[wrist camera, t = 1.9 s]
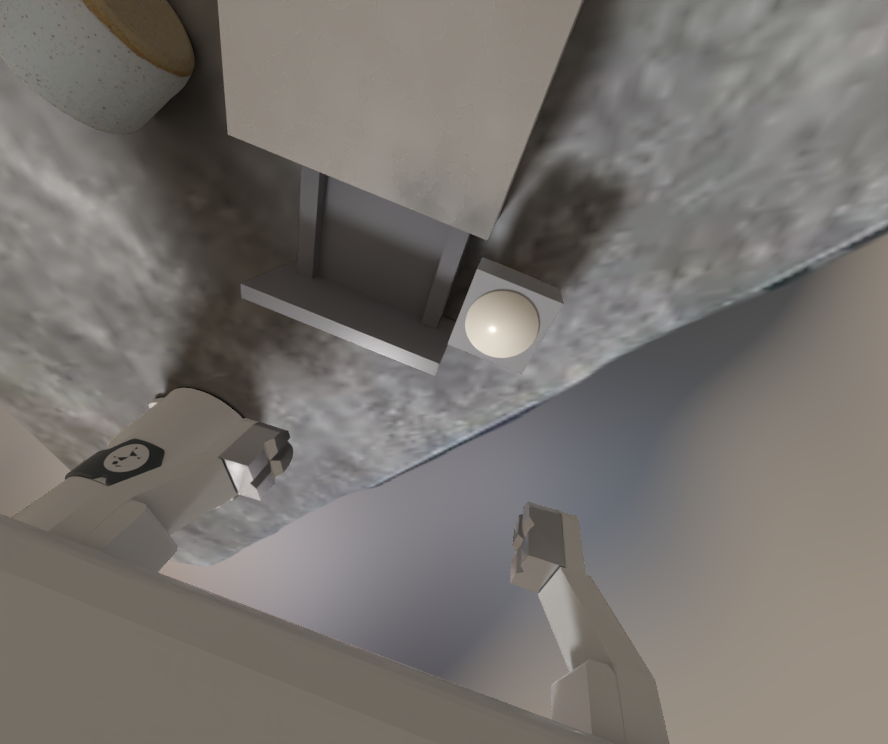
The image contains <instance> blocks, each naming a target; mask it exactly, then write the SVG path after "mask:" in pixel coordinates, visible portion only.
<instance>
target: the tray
mask: <svg viewBox="0 0 888 744" xmlns="http://www.w3.org/2000/svg"><path fill="white" fill-rule="evenodd" d="M470 236H471V234H470V233H468V232H465V231H463V230H460V229H458V228H455V227H453V226H450V225H448V224H446V223H443V222H441V221H438V220H436V219H433V218H431V217H428V216H426V215H423V214H421V213H419V212H416V211H414V210H411V209H409V208H406V207H404V206H401V205H399V204H397V203H394V202H392V201H389V200H387V199H384V198H382V197H379V196H377V195H375V194H372V193H370V192H367V191H365V190H362V189H360V188H357V187H355V186H352V185H350V184H348V183H345V182H343V181H340V180H338V179H335V178H333V177H330V176H328V175H326V174H323V173H321V172H318V171H316V170H313V169H311V168H308V167H306V166H304V165H301V185H300V210H299V235H298V259H296V260H294V261H292V262H289V263H287V264H285V265H282V266H280V267H278V268H275V269H273V270H271V271H268V272H266V273H264V274H261V275H259V276H256V277H254V278H252V279H249V280H247V281H245V282H242V283H240V287H241V298H243V299H246V300H248V301H251V302H253V303H255V304H258V305H260V306H263V307H265V308H268V309H270V310H273V311H275V312H278V313H280V314H283V315H285V316H288V317H290V318H293V319H295V320H298V321H300V322H303V323H305V324H308V325H310V326H313V327H315V328H318V329H320V330H322V331H325V332H327V333H330V334H332V335H335V336H337V337H340V338H342V339H345V340H347V341H350V342H352V343H355V344H357V345H360V346H362V347H365V348H367V349H370V350H372V351H375V352H377V353H380V354H382V355H384V356H387V357H389V358H392V359H394V360H397V361H399V362H402V363H404V364H407V365H409V366H412V367H414V368H417V369H419V370H422V371H424V372H427V373H429V374H432V375H434V376H435V374H436V372H437V369H438V367H439V365H440V362H441V360H442V357H443V355H444V353H445V350H446V348H447V346H448V341H449V339H450V336H451V334H452V331H453V329H454V326H455V324H456V321H454V320H451V319H449V318H446V317H444V316H442V314H443V311H444V308H445V306H446V303H447V300H448V297H449V294H450V292H451V289H452V286H453V283H454V280H455V278H456V275H457V272H458V269H459V266H460V264H461V261H462V258H463V255H464V252H465V250H466V247H467V244H468V241H469V238H470Z"/></svg>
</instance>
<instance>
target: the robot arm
mask: <svg viewBox="0 0 888 744" xmlns="http://www.w3.org/2000/svg"><path fill="white" fill-rule="evenodd" d="M149 408H150V409H149V410H148V411H146V412H145V413H144V414H142V415H141V416H140V417H139V418H137V419H136V420H135V421H134V422H132V423H131V424H130V425H129V426H127V427H126V428H125V429H124V430H122V431H121V432H120V433H119V434H117V435H116V436H115V437H114V438H112V439H111V440H110V441H109V443H108V447H107V450H101V451H99V452H97V453H96V454H94V455H93V456H91V457H90V458H88V459H87V460H84V461H82V462H81V463H80V464H78V465H77V466H76V468H74V469H73V470H72V471H70V472H69V473H68V474H67V475H66V476H65V481H63V482H62V483H60V484H59V485H57V486H56V487H55V488H53V489H51V490H50V491H48V492H47V493H46V494H44V495H43V496H41V497H40V498H38V499H37V500H35V501H34V502H33V503H31V504H30V505H28V506H27V507H25V508H24V509H22V510H21V511H19V512H18V513H17V514H15V515H14V516H12V517H11V518H10V517H8V516H5V515H2V514H0V744H669V740H668V735H667V731H666V726H665V722H664V718H663V713H662V709H661V704H660V700H659V695H658V691H657V687H656V682H655V679H654V677H653V676H652V674H651V672H650V671H649V669H648V668H647V666H646V664H645V663H644V661H643V659H642V658H641V656H640V655H639V653H638V651H637V650H636V648H635V647H634V645H633V643H632V642H631V640H630V639H629V637H628V635H627V634H626V632H625V631H624V629H623V627H622V626H621V624H620V623H619V621H618V619H617V618H616V616H615V614H614V613H613V611H612V610H611V608H610V606H609V605H608V603H607V602H606V600H605V598H604V597H603V595H602V594H601V592H600V590H599V589H598V587H597V586H596V584H595V582H594V581H593V579H592V578H591V576H589V575H586V573H585V565H584V557H583V549H582V541H581V533H580V525H579V520H578V518H577V516H575V515H571V514H568V513H564V512H561V511H559V510H555V509H552V508H548V507H545V506H541V505H538V504H534V503H531V502H526V503H525V505H524V507H523V514H521V515H519V517H518V519H517V521H516V524H515V528H514V534H513V547H514V549H515V551H516V553H515V555H514V556H513V558H512V561H511V579H510V580H511V582H510V583H512V584H515V585H518V586H521V587H523V588H526V589H529V590H532V591H534V592H537V593H539V594H538V596H539V598H540V601H541V603H542V606H543V608H544V610H545V613H546V616H547V618H548V620H549V623H550V625H551V627H552V630H553V633H554V635H555V637H556V640H557V642H558V645H559V647H560V649H561V652H562V655H563V657H564V659H565V662H566V664H567V667H568V669H569V673H568V674H566V675H565V676H563V677H562V678H560V679H559V680H557V681H556V682H554V683H553V684H552V685H551V708H552V709H551V710H552V711H551V712H552V720H551V719H549V718H546V717H543V716H540V715H538V714H535V713H532V712H530V711H527V710H524V709H521V708H519V707H516V706H514V705H511V704H508V703H506V702H503V701H500V700H498V699H495V698H492V697H489V696H487V695H484V694H482V693H479V692H476V691H473V690H471V689H468V688H466V687H463V686H460V685H458V684H455V683H452V682H450V681H446V680H444V679H441V678H439V677H436V676H433V675H431V674H428V673H425V672H422V671H420V670H417V669H415V668H412V667H409V666H407V665H404V664H401V663H399V662H396V661H393V660H391V659H388V658H385V657H382V656H380V655H377V654H375V653H372V652H369V651H367V650H364V649H361V648H359V647H356V646H353V645H350V644H348V643H345V642H342V641H340V640H337V639H334V638H332V637H329V636H326V635H324V634H321V633H318V632H315V631H313V630H310V629H308V628H305V627H302V626H300V625H297V624H294V623H291V622H288V621H286V620H284V619H281V618H278V617H275V616H273V615H270V614H267V613H265V612H262V611H259V610H257V609H254V608H251V607H249V606H246V605H243V604H241V603H238V602H235V601H232V600H230V599H227V598H224V597H222V596H219V595H217V594H214V593H211V592H209V591H206V590H203V589H200V588H198V587H195V586H193V585H190V584H187V583H184V582H182V581H179V580H176V579H174V578H171V577H168V576H166V575H163V574H160V573H158V571H159V570H160V569H161V568H162V567H163V565H165V564H166V562H167V561H168V560H169V559H170V558H171V557H172V556H173V555H174V554H175V552H176V551H177V544H176V543H175V542H174V540H173V539H172V538H171V536H170V535H171V534H172V533H174V532H176V531H177V530H179V529H181V528H183V527H184V526H186V525H188V524H189V523H191V522H193V521H194V520H196V519H198V518H200V517H201V516H203V515H205V514H206V513H208V512H210V511H211V510H213V509H217V508H220V507H221V506H223V505H224V504H225V503H226V502H227V501H228V500H235V499H236V498H237V497H238V496H239V494H240V495H243V496H246V497H250V498H253V499H257V500H260V501H261V500H262V499H263V497H264V496H265V495H266V494H267V492H268V491H269V490H270V489H271V487H272V486H273V485H274V484H275V477H276V476H278V475H280V474H282V473H284V471H285V470H286V469H287V467H288V466H289V464H290V462H291V460H292V458H293V447H292V445H291V444H290V443H289V442H288V440H289V439H290V435H289V431H287V430H284V429H281V428H277V427H274V426H271V425H268V424H265V423H261V422H259V421H255V420H252V419H249V418H244V419H243V418H242V417H241V416H240V415H239V414H238V413H237V412H236V411H234V410H233V409H232V408H231V407H229V406H228V405H227V404H225V403H224V402H222V401H221V400H219V399H217V398H215V397H214V396H212V395H209V394H207V393H205V392H202V391H199V390H196V389H191V388H178V389H175V390H173V391H171V392H170V393H169V394H168V395H167V396H166V397H164V398H156V399H154V400H153V401H152V402H151V403H149Z"/></svg>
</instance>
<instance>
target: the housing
mask: <svg viewBox="0 0 888 744" xmlns="http://www.w3.org/2000/svg"><path fill="white" fill-rule="evenodd" d="M217 1H218V14H219V27H220V40H221V53H222V66H223V79H224V92H225V105H226V118H227V131H228V135H230V136H233V137H235V138H237V139H240V140H242V141H245V142H247V143H250V144H252V145H255V146H257V147H259V148H262V149H264V150H267V151H269V152H272V153H274V154H277V155H279V156H282V157H284V158H286V159H289V160H291V161H294V162H296V163H299V164H301V165H304V166H306V167H308V168H311V169H313V170H316V171H318V172H321V173H323V174H326V175H328V176H330V177H333V178H335V179H338V180H340V181H343V182H345V183H348V184H350V185H352V186H355V187H357V188H360V189H362V190H365V191H367V192H370V193H372V194H375V195H377V196H379V197H382V198H384V199H387V200H389V201H392V202H394V203H397V204H399V205H401V206H404V207H406V208H409V209H411V210H414V211H416V212H419V213H421V214H423V215H426V216H428V217H431V218H433V219H436V220H438V221H441V222H443V223H446V224H448V225H450V226H453V227H455V228H458V229H460V230H463V231H465V232H468V233H470V234H472V235H475V236H477V237H480V238H482V239H485V240H487V241H488V239H489V237H490V235H491V233H492V231H493V229H494V227H495V224H496V222H497V220H498V218H499V215H500V213H501V210H502V208H503V205H504V203H505V200H506V198H507V195H508V193H509V190H510V188H511V185H512V182H513V180H514V177H515V175H516V172H517V170H518V167H519V165H520V162H521V160H522V157H523V155H524V152H525V150H526V147H527V145H528V142H529V140H530V137H531V134H532V132H533V129H534V127H535V124H536V122H537V119H538V117H539V114H540V112H541V109H542V107H543V104H544V102H545V99H546V97H547V94H548V92H549V89H550V86H551V84H552V81H553V79H554V76H555V74H556V71H557V69H558V66H559V64H560V61H561V59H562V56H563V54H564V51H565V49H566V46H567V43H568V41H569V38H570V36H571V33H572V31H573V28H574V26H575V23H576V21H577V18H578V16H579V13H580V11H581V8H582V6H583V3H584V1H585V0H217Z"/></svg>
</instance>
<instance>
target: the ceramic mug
mask: <svg viewBox="0 0 888 744" xmlns="http://www.w3.org/2000/svg"><path fill="white" fill-rule="evenodd" d="M0 57H1V58H2V59H3V61H4V62H5V63H6V64H7V65H8V66H9V67H10V68H11V69H12V70H13V71H14V73H15V74H16V75H17V76H18V77H19V78H21V79H22V80H23V81H24V82H25V83H26V84H27V85H28V86H29V87H30V88H31V89H33V90H34V91H35V92H36V93H37V94H39V95H40V96H41V97H42V98H44V99H45V100H46V101H48V102H49V103H50V104H52V105H53V106H55V107H56V108H58V109H60V110H61V111H63V112H64V113H66V114H67V115H69V116H71V117H73V118H74V119H76V120H78V121H80V122H82V123H84V124H86V125H88V126H90V127H93V128H95V129H98V130H101V131H105V132H108V133H114V134H132V133H134V132H137V131H139V130H140V129H141V128H142V127H143V126H144V125H145V124H146V123H147V122H148V121H149V120H150V119H151V118H152V117H153V116H154V115H155V114H156V113H157V112H158V111H159V110H160V109H161V108H162V107H163V106H164V105H165V104H166V103H167V102H168V101H169V100H170V99H171V98H172V97H173V96H175V95H176V94H177V93H178V92H179V91H180V90H181V89H182V88H183V87H184V86H185V85H186V83H187V82H188V80H189V78H190V76H191V74H192V72H193V69H194V65H195V58H194V53H193V49H192V45H191V42H190V40H189V38H188V35H187V33H186V31H185V29H184V27H183V25H182V23H181V21H180V19H179V18H178V16H177V15H176V13H175V11H174V10H173V8H172V7H171V5H170V4H169V3H168V1H167V0H0Z"/></svg>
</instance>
